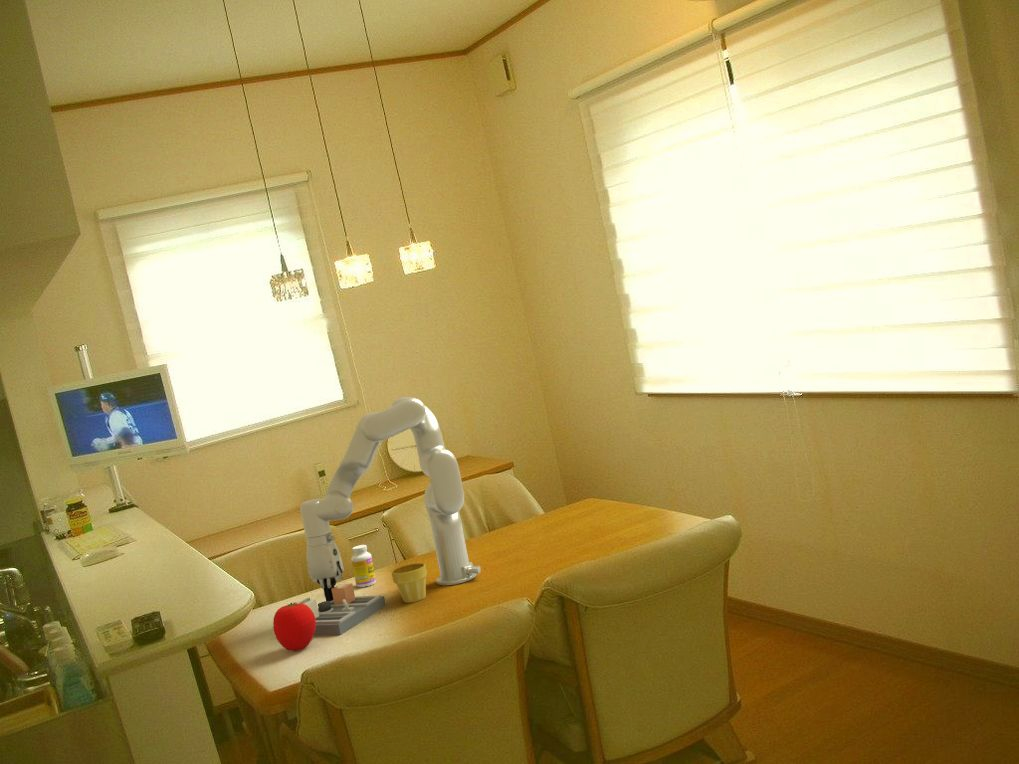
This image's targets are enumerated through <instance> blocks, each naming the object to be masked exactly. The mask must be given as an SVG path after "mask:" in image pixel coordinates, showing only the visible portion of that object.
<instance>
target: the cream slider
mask: <svg viewBox="0 0 1019 764" xmlns="http://www.w3.org/2000/svg"><path fill="white" fill-rule="evenodd" d="M298 603H303V604H305V605H307V606H308V607H309V608H310V609H311V610H312V612H313V613H314V616H315V618H317V617H319V612H318V602H317V599H315V598H313V599H311V597H307V598H305V599H302V600H301V601H298Z"/></svg>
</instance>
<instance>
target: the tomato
mask: <svg viewBox="0 0 1019 764" xmlns="http://www.w3.org/2000/svg"><path fill="white" fill-rule="evenodd" d="M272 624H273V627H272V628H273V629H272V630H273V634H274V636H275V638H276V640H277V642H278V643H279V644H280V645H281V646H282V647H283V648H284V650H287V651H289V652H290V651H291V652H298V651H302V650H304V649H305V648H307V647H308V646H309V645H310V643H311V642H312V640H313V637H315V636H314V633H315V629H316V619H315V616H314V613H313V612H312V610H311V609H310V608H309V607H308V606H307V605H305V604H303V603H299V602H290V604H285V605H283V606H281V607H279V608H278V609H277V610H276V612H274V615H273V621H272Z"/></svg>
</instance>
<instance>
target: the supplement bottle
mask: <svg viewBox="0 0 1019 764" xmlns="http://www.w3.org/2000/svg"><path fill="white" fill-rule="evenodd" d="M367 550H368V547H367V545H366V544H359V545H357V546H353V547H352V553H353V555H352V556H351V558H350V559H351V564H352V565H351V566H352V571H353V576H354V581H355V585H356V587H358V588H366V587H365V586H368V587H370V585H371V586H373V585H376V583H377V577H376V573H375V568H374V562H373V557H372V554H371V553H370V552H368V551H367Z"/></svg>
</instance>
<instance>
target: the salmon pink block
mask: <svg viewBox="0 0 1019 764" xmlns="http://www.w3.org/2000/svg"><path fill="white" fill-rule="evenodd" d="M354 590H355V589H354V585H353V583H347V581H344V582H341V583H340V584H338V585H335V586H334V588H332V594H333V599H334V604H344V603H343V601H342V600H343V599H345V600H346V602H347V604H349V603H351V602H352V601H354V600H356V599H355V597H356V596H355V591H354Z"/></svg>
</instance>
